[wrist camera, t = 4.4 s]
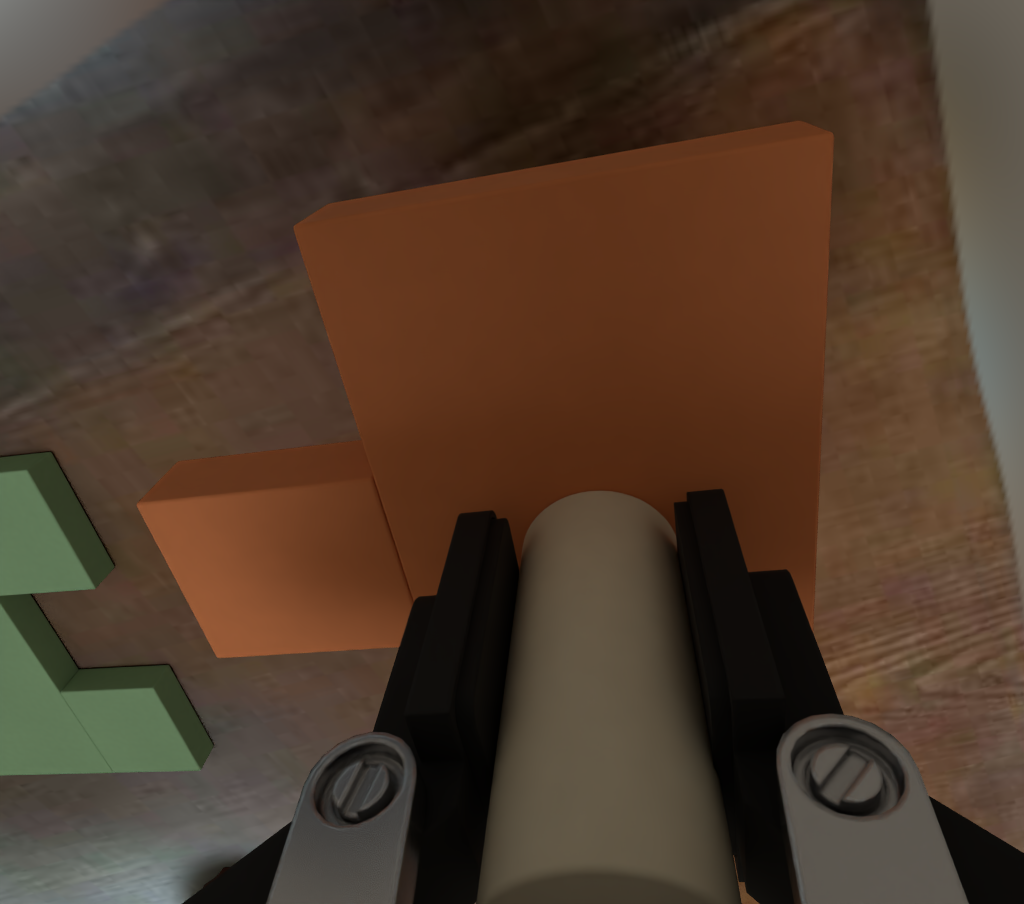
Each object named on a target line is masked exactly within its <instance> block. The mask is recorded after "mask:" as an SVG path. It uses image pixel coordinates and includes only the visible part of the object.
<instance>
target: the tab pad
mask: <svg viewBox="0 0 1024 904" xmlns="http://www.w3.org/2000/svg"><path fill="white" fill-rule="evenodd" d="M833 149H834V136H833V133H832V132H829V131H826V130H824V129H821V128H819V127H816V126H814V125H811V124H808V123H806V122H803V121H793V122H787V123H782V124H776V125H770V126H765V127H759V128H753V129H748V130H742V131H736V132H731V133H725V134H720V135H714V136H708V137H703V138H697V139H691V140H686V141H680V142H674V143H669V144H663V145H657V146H652V147H646V148H640V149H635V150H629V151H623V152H618V153H612V154H607V155H601V156H595V157H590V158H584V159H578V160H573V161H567V162H561V163H556V164H550V165H544V166H539V167H533V168H527V169H522V170H516V171H511V172H505V173H499V174H494V175H488V176H482V177H477V178H471V179H465V180H460V181H454V182H448V183H443V184H437V185H431V186H426V187H420V188H414V189H409V190H403V191H398V192H392V193H386V194H381V195H375V196H369V197H364V198H358V199H352V200H347V201H341V202H335V203H330V204H327V205H326V206H324V207H323V208H321V209H319V210H318V211H316V212H315V213H313V214H311V215H310V216H308V217H307V218H305V219H304V220H302V221H300V222H299V223H297V224H296V225H294V232H295V235H296V239H297V242H298V245H299V248H300V251H301V254H302V257H303V260H304V263H305V266H306V269H307V273H308V276H309V279H310V282H311V285H312V288H313V291H314V294H315V297H316V300H317V303H318V307H319V310H320V313H321V316H322V319H323V322H324V325H325V328H326V331H327V334H328V338H329V341H330V344H331V347H332V350H333V353H334V356H335V359H336V362H337V365H338V368H339V372H340V375H341V378H342V381H343V384H344V387H345V390H346V393H347V396H348V399H349V403H350V406H351V409H352V412H353V415H354V418H355V421H356V424H357V427H358V430H359V433H360V437H361V440H358V441H350V442H341V443H332V444H324V445H315V446H306V447H298V448H289V449H280V450H272V451H263V452H254V453H245V454H237V455H228V456H219V457H211V458H202V459H193V460H185V461H178V462H177V463H176V464H175V465H174V466H173V467H172V468H171V469H170V470H169V471H168V472H167V473H166V474H165V475H164V476H163V477H162V478H161V479H160V480H159V481H158V482H157V483H156V484H155V485H154V486H153V487H152V488H151V489H150V490H149V492H148V493H147V494H146V495H145V496H144V497H143V498H142V499H141V500H140V501H139V502H138V503H137V507H138V509H139V511H140V513H141V515H142V517H143V519H144V520H145V522H146V524H147V526H148V528H149V530H150V532H151V534H152V536H153V537H154V539H155V541H156V543H157V545H158V547H159V549H160V551H161V553H162V554H163V556H164V558H165V560H166V562H167V564H168V566H169V568H170V570H171V571H172V573H173V575H174V577H175V579H176V581H177V583H178V585H179V587H180V588H181V590H182V592H183V594H184V596H185V598H186V600H187V602H188V604H189V605H190V607H191V609H192V611H193V613H194V615H195V617H196V619H197V621H198V622H199V624H200V626H201V628H202V630H203V632H204V634H205V636H206V638H207V639H208V641H209V643H210V645H211V647H212V649H213V651H214V653H215V655H216V656H217V657H218V658H230V657H246V656H262V655H278V654H295V653H311V652H327V651H343V650H359V649H375V648H391V647H399V646H400V643H401V640H402V637H403V634H404V630H405V627H406V624H407V621H408V618H409V614H410V611H411V608H412V605H413V603H414V601H415V599H416V598H418V597H419V596H432V595H436V594H437V591H438V587H439V583H440V580H441V576H442V573H443V569H444V565H445V562H446V558H447V554H448V551H449V547H450V543H451V540H452V536H453V532H454V529H455V525H456V522H457V518H458V516H459V514H460V513H469V512H479V511H490V510H493V511H494V512H495V514H496V517H497V519H499V518H507V520H508V522H509V525H510V530H511V534H512V539H513V544H514V548H515V553H516V557H517V562H518V566H519V571H520V572H519V579H518V587H517V595H516V602H515V610H514V618H513V625H512V633H511V641H510V648H509V656H508V664H507V671H506V679H505V687H504V694H503V702H502V710H501V717H500V725H499V733H498V740H497V748H496V756H495V764H494V771H493V779H492V787H491V794H490V802H489V810H488V817H487V825H486V833H485V840H484V848H483V856H482V863H481V871H480V879H479V886H478V894H477V902H476V904H742V903H741V898H740V892H739V886H738V881H737V875H736V869H735V864H734V858H733V852H732V847H731V841H730V835H729V830H728V824H727V818H726V813H725V807H724V801H723V796H722V790H721V784H720V780H719V777H718V775H717V772H716V770H715V768H714V764H713V758H712V752H711V746H710V740H709V735H708V729H707V723H706V717H705V711H704V705H703V699H702V694H701V688H700V682H699V676H698V670H697V664H696V658H695V652H694V647H693V641H692V635H691V629H690V623H689V617H688V611H687V606H686V600H685V594H684V588H683V582H682V576H681V570H680V565H679V559H678V552H677V540H676V527H675V514H674V502H684V501H687V492H692V491H702V490H713V489H723V490H724V493H725V496H726V499H727V503H728V506H729V509H730V513H731V516H732V520H733V523H734V526H735V530H736V533H737V536H738V540H739V543H740V547H741V550H742V553H743V557H744V560H745V563H746V567H747V570H748V572H756V571H770V570H783V569H787V570H788V571H789V572H790V574H791V576H792V579H793V581H794V584H795V586H796V589H797V592H798V594H799V597H800V600H801V602H802V605H803V608H804V610H805V613H806V616H807V618H808V621H809V624H810V626H811V629H812V632H813V624H814V600H815V576H816V553H817V529H818V505H819V481H820V458H821V434H822V410H823V386H824V362H825V339H826V315H827V291H828V267H829V244H830V220H831V196H832V172H833Z"/></svg>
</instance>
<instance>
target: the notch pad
mask: <svg viewBox="0 0 1024 904" xmlns="http://www.w3.org/2000/svg"><path fill="white" fill-rule="evenodd" d="M113 569H114V565H113V563H112V561H111V559H110V557H109V556H108V554H107V552H106V550H105V548H104V547H103V545H102V543H101V541H100V539H99V538H98V536H97V534H96V532H95V530H94V529H93V527H92V525H91V523H90V521H89V519H88V518H87V516H86V514H85V512H84V510H83V509H82V507H81V505H80V503H79V501H78V500H77V498H76V496H75V494H74V492H73V491H72V489H71V487H70V485H69V483H68V481H67V480H66V478H65V476H64V474H63V472H62V471H61V469H60V467H59V465H58V463H57V462H56V460H55V458H54V456H53V454H52V453H51V452H45V453H36V454H27V455H18V456H9V457H0V775H36V774H80V773H113V772H115V773H117V772H160V771H200V770H201V769H202V767H203V765H204V763H205V761H206V759H207V758H208V756H209V754H210V752H211V750H212V748H213V744H212V742H211V740H210V739H209V737H208V735H207V733H206V731H205V729H204V728H203V726H202V724H201V722H200V720H199V719H198V717H197V715H196V713H195V711H194V710H193V708H192V706H191V704H190V702H189V701H188V699H187V697H186V695H185V693H184V691H183V690H182V688H181V686H180V684H179V682H178V681H177V679H176V677H175V675H174V673H173V672H172V670H171V668H170V666H169V665H156V666H137V667H117V668H97V669H80V670H79V669H78V668H77V666H76V665H75V663H74V662H73V660H72V658H71V657H70V655H69V654H68V652H67V651H66V649H65V647H64V646H63V644H62V643H61V641H60V640H59V638H58V637H57V635H56V633H55V632H54V630H53V629H52V627H51V626H50V624H49V622H48V621H47V619H46V618H45V616H44V615H43V613H42V612H41V610H40V608H39V607H38V605H37V604H36V602H35V601H34V599H33V597H32V596H31V594H32V593H45V592H59V591H73V590H87V589H95V588H96V587H97V586H98V585H99V584H100V583H101V582H102V581H103V580H104V579H105V578H106V576H107V575H108V574H109V573H110V572H111V571H112V570H113Z"/></svg>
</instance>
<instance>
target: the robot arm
mask: <svg viewBox="0 0 1024 904" xmlns="http://www.w3.org/2000/svg"><path fill="white" fill-rule="evenodd" d="M674 514H675V527H676V540H677V552H678V559H679V565H680V570H681V576H682V582H683V588H684V594H685V600H686V606H687V611H688V617H689V623H690V629H691V635H692V641H693V647H694V652H695V658H696V664H697V670H698V676H699V682H700V688H701V694H702V699H703V705H704V711H705V717H706V723H707V729H708V735H709V740H710V746H711V752H712V758H713V764H714V768H715V770H716V772H717V775H718V777H719V780H720V784H721V790H722V796H723V801H724V807H725V813H726V818H727V824H728V830H729V835H730V841H731V847H732V852H733V855H734V857H735V863H736V868H737V874H738V880H739V882H745V887H746V892H747V893H748V894H749V895H750V896H751V897H753V898H754V899H755V900H756V901H757V902H758V903H760V904H1024V853H1023V852H1021V851H1019V850H1018V849H1016V848H1014V847H1013V846H1011V845H1009V844H1008V843H1006V842H1004V841H1003V840H1001V839H999V838H998V837H996V836H994V835H993V834H991V833H989V832H988V831H986V830H985V829H983V828H981V827H980V826H978V825H976V824H975V823H973V822H971V821H970V820H968V819H966V818H965V817H963V816H961V815H960V814H958V813H956V812H955V811H953V810H951V809H950V808H948V807H946V806H945V805H943V804H941V803H940V802H938V801H936V800H935V799H933V798H931V797H930V796H928V793H927V790H926V788H925V785H924V782H923V780H922V777H921V774H920V772H919V769H918V767H917V766H916V764H915V762H914V760H913V759H912V757H911V755H910V753H909V752H908V750H907V749H906V748H905V747H904V746H903V745H902V744H901V743H900V742H899V741H898V740H897V739H896V738H895V737H894V736H892V735H891V734H889V733H888V732H886V731H884V730H883V729H881V728H880V727H878V726H876V725H875V724H873V723H870V722H867V721H865V720H862V719H859V718H856V717H853V716H847V715H844V714H843V711H842V709H841V706H840V703H839V701H838V698H837V695H836V693H835V690H834V687H833V685H832V682H831V679H830V677H829V674H828V671H827V669H826V666H825V663H824V661H823V658H822V655H821V653H820V650H819V647H818V645H817V642H816V640H815V637H814V634H813V632H812V629H811V626H810V624H809V621H808V618H807V616H806V613H805V610H804V608H803V605H802V602H801V600H800V597H799V594H798V592H797V589H796V586H795V584H794V581H793V579H792V576H791V574H790V572H789V571H788V570H787V569H783V570H770V571H756V572H748V570H747V567H746V563H745V560H744V557H743V553H742V550H741V547H740V543H739V540H738V536H737V533H736V530H735V526H734V523H733V520H732V516H731V513H730V509H729V506H728V503H727V499H726V496H725V493H724V490H723V489H713V490H702V491H692V492H687V501H684V502H674ZM519 572H520V571H519V566H518V562H517V557H516V553H515V548H514V544H513V539H512V534H511V530H510V525H509V522H508V520H507V518H499V519H497V517H496V514H495V512H494V511H493V510H490V511H479V512H469V513H460V514H459V516H458V518H457V522H456V525H455V529H454V532H453V536H452V540H451V543H450V547H449V551H448V554H447V558H446V562H445V565H444V569H443V573H442V576H441V580H440V583H439V587H438V591H437V594H436V595H432V596H419V597H418V598H416V599H415V601H414V603H413V605H412V608H411V611H410V614H409V618H408V621H407V624H406V627H405V630H404V634H403V637H402V640H401V643H400V646H399V650H398V653H397V656H396V659H395V662H394V666H393V669H392V672H391V675H390V678H389V682H388V685H387V688H386V691H385V694H384V698H383V701H382V704H381V707H380V711H379V714H378V717H377V720H376V723H375V727H374V730H373V732H369V733H365V734H360V735H356V736H353V737H351V738H349V739H347V740H345V741H343V742H341V743H339V744H337V745H336V746H334V747H333V748H332V749H331V750H329V751H328V752H327V753H326V754H324V755H323V756H322V757H321V759H320V760H319V761H318V762H317V763H316V765H315V766H314V767H313V768H312V770H311V771H310V773H309V776H308V778H307V780H306V782H305V784H304V786H303V789H302V792H301V795H300V799H299V802H298V805H297V808H296V811H295V814H294V817H293V821H291V822H290V823H289V824H287V825H286V826H285V827H283V828H282V829H281V830H279V831H278V832H277V833H275V834H274V835H273V836H271V837H270V838H269V839H267V840H266V841H265V842H263V843H262V844H261V845H259V846H258V847H257V848H255V849H254V850H253V851H252V852H250V853H249V854H248V855H246V856H245V857H244V858H242V859H241V860H240V861H238V862H237V863H236V864H234V865H233V866H232V867H230V868H229V869H228V870H226V871H225V872H224V873H222V874H221V875H220V876H218V877H217V878H216V879H214V880H213V881H212V882H210V883H209V884H208V885H206V886H205V887H204V888H202V889H201V890H200V891H198V892H197V893H196V894H194V895H193V896H192V897H190V898H189V899H188V900H186V901H185V902H184V903H182V904H474V903H475V902H476V901H477V894H478V886H479V879H480V871H481V863H482V856H483V848H484V840H485V833H486V825H487V817H488V810H489V802H490V794H491V787H492V779H493V771H494V764H495V756H496V748H497V740H498V733H499V725H500V717H501V710H502V702H503V694H504V687H505V679H506V671H507V664H508V656H509V648H510V641H511V633H512V625H513V618H514V610H515V602H516V595H517V587H518V579H519Z"/></svg>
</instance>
